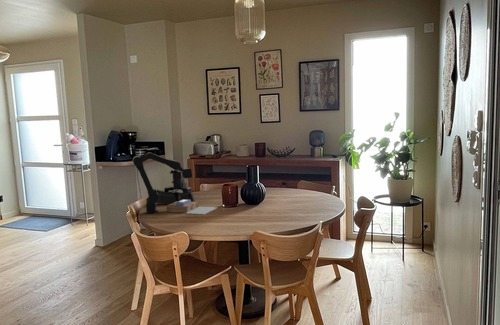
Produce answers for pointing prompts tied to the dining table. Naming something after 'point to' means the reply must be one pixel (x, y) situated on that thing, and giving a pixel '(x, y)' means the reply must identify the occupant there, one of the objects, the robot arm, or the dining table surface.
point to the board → (182, 207)
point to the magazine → (172, 197)
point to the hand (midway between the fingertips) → (178, 201)
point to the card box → (183, 202)
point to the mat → (201, 210)
